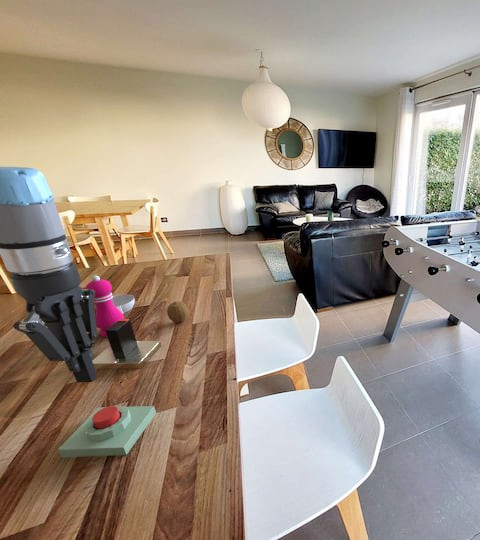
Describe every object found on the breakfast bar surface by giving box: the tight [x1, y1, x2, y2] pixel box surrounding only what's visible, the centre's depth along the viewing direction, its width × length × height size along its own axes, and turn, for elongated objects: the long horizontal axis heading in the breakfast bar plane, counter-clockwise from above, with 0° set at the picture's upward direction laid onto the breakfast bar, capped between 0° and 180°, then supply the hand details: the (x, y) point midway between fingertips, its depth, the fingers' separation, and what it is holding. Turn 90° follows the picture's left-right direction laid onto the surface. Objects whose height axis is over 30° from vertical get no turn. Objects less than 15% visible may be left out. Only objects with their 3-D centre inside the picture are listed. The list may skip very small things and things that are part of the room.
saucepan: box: [112, 294, 136, 315], centre depth 104 cm, size 11×18×4 cm, turn 45°
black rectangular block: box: [105, 318, 138, 358], centre depth 80 cm, size 6×3×9 cm, turn 4°
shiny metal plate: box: [92, 340, 162, 370], centre depth 82 cm, size 13×10×2 cm
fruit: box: [166, 300, 189, 323], centre depth 99 cm, size 6×6×8 cm
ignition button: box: [92, 405, 120, 429], centre depth 59 cm, size 4×4×2 cm
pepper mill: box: [85, 275, 125, 338], centre depth 90 cm, size 7×7×20 cm
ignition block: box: [57, 405, 157, 458], centre depth 60 cm, size 12×10×4 cm
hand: (87, 379), depth 56 cm, fingers closed
